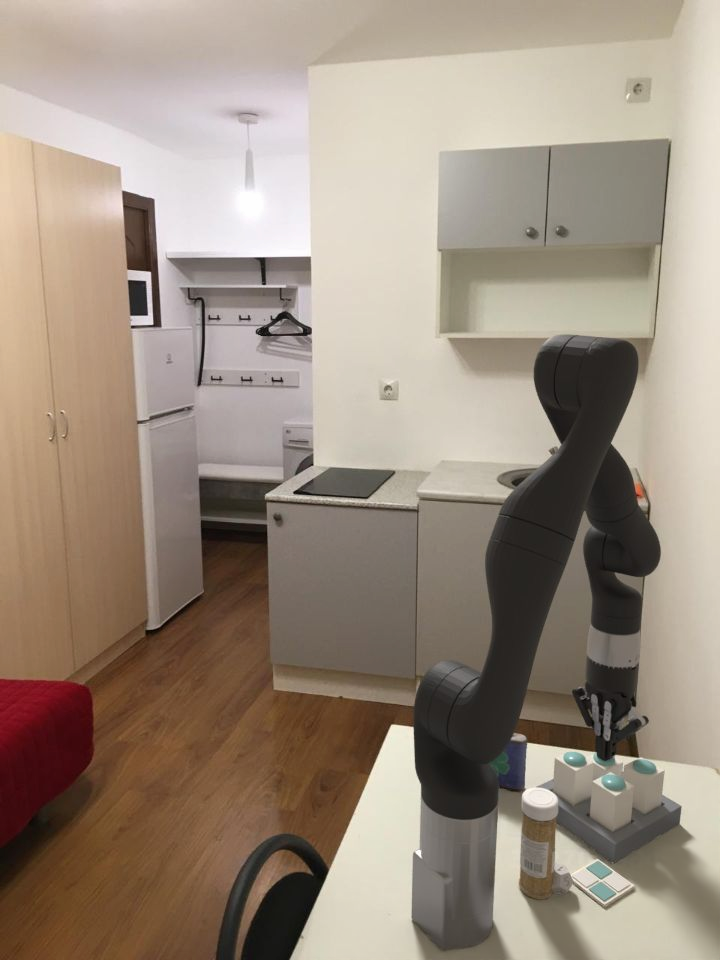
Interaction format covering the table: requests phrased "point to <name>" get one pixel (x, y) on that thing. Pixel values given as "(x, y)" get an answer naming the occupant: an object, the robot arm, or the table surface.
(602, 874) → the card
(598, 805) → the button near right
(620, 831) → the button board
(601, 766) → the button far left
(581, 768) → the button near left
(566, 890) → the game die
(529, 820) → the sprinkles bottle
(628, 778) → the button far right
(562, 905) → the table surface
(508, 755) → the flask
